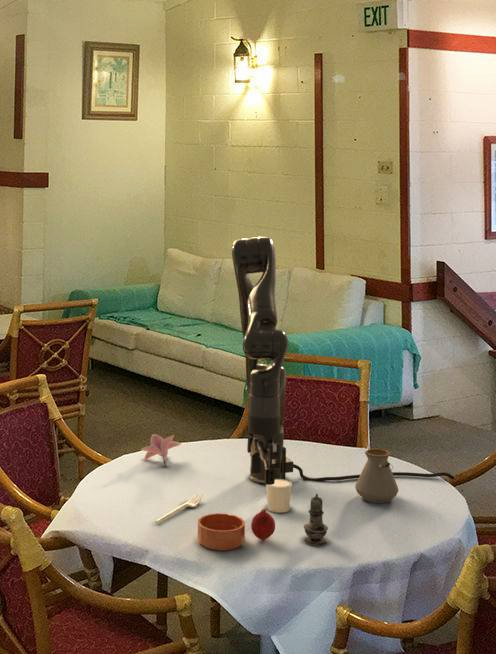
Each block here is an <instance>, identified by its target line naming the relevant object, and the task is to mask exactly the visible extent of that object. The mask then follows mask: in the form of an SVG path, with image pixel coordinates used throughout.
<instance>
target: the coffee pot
mask: <svg viewBox="0 0 496 654" xmlns="http://www.w3.org/2000/svg"><path fill="white" fill-rule="evenodd" d="M364 455H365V456H366V458H367V461H366V462H365V464H364V467H363V469H362V470H361V473H360V474H361V475H360V474H359V475H360V477H359V478H357V481H356V482H355V484H354V488H355V491H356V493H357V494H358V495H359V496H360V497H361V498H362V499H363V500H364V501H366V502H369V503H373V504H386V503H389V502H390V501H391V500H392V499H394V498H395V497H396V496H397V495H398V493H399V487H398V484H397V481H396V478H395V476H393V473H392V472H393V471H392V470H393V469H394V466H393V464H391V463H390V462H389V461H388V459H389V457H390V455H391V452H390V451H389V450H386V449H382V448H369V449H367V450H365V452H364ZM391 466H392V468H391Z"/></svg>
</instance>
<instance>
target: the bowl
mask: <svg viewBox="0 0 496 654" xmlns="http://www.w3.org/2000/svg"><path fill="white" fill-rule="evenodd" d="M245 533H246V521H245V520H244V519H243V518H242V517H241V516H238V515H236V514H232V513H222V512H221V513H219V512H217V513H216V512H215V513H208V514H205V515H202V516H201V517H200V518H198V520H197V542H198V543H199V544H200V545H202V546H203V547H205V548H208V549H211V550H214V551H230V550H235V549H238V548H239V547H242V545H243V544H244V543H246V542H245V539H246V538H245V537H246V534H245Z"/></svg>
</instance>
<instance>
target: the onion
mask: <svg viewBox="0 0 496 654" xmlns="http://www.w3.org/2000/svg"><path fill="white" fill-rule="evenodd" d="M250 528H251V532H252V534H253V535H254V536H255V537H256V538H257V539H259V540H260V541H266V540H268V539H270V537H271V536H272V535H274V533H275V530H276V521H275V519H274V517H273V516H272V515H271V514H270V513H269V512H268V511H267V508H265V507H263V508H261V510H260V512H258V513H256V514H255V515H254V516H253V518H252V520H251V524H250Z"/></svg>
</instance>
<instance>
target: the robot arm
mask: <svg viewBox="0 0 496 654" xmlns="http://www.w3.org/2000/svg"><path fill="white" fill-rule="evenodd" d="M231 259H232V264H233V269H234V275H235V280H236V281H235V282H236V286H237V292H238V301H239V314H240V325H241V332H242V336H243V337H242V338H243V341H242V351H243V352H244V355H245V377H246V378H245V379H246V380H245V381H246V388H247V391H248V393H249V395H248V403H247V448H246V450H247V454H249V457H250V467H249V479H250V480H251V481H252V482H254V483H258V484H264V485H265V486H266V485H272V484H274V483H275V479H283V480H286V477H287V475H286V474H287V473H288V474H289V473H294V469H296V470H298V472H299V476H300V478H301V479H302V480H305V481H310V482H311V481H312V482H327V481H342V480H343V481H345V480H353V479H359V477H360V475H361V473H360V474H350V475H342V476H341V475H340V476H322V477H308V476H307V475H305V474H304V472H303V468H301V467H300V466H299V465H298V464H295V463H294V461H293V460H292V459H290V458H289V457H288V456H287V448H286V447H285V446H284V441H285V440H284V439H285V438H284V433H285V432H284V431H285V407H286V406H285V405H286V404H285V403H286V388H287V371H286V368H285V367H284V366H283V364H284V361H285V358H286V355H287V352H288V350H289V349H288V347H289V338H288V335H287V333H286V332H285V331H284V330H283V329H282V330H281V329H277V326H278V325H277V324H278V313H277V312H278V311H277V304H276V285H277V256H276V249H275V244H274V242H273V240H272V238H271V237H269V236H258V237H257V236H256V237H247V238H240V239H239V238H238V239H235V240H234V241H233V243H232V244H231ZM259 273H262V274H261V276H260V278H259V280H258V281H257V282H256V284H255V285H254V282H252V280H251V277H250V276H249V275H250V274H259ZM259 360H271V361H270V362H269V364H263V363H260V362H259ZM392 473H393V476H394V477H397V476H398V477H399V476H400V477H419V478H436V477H448V478H449V479H450V480H455V479H456V478H455V476H453V474H451V473H449V472H444V471H443V472H434V473H423V472H422V473H421V472H405V471H404V472H403V471H392Z"/></svg>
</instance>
